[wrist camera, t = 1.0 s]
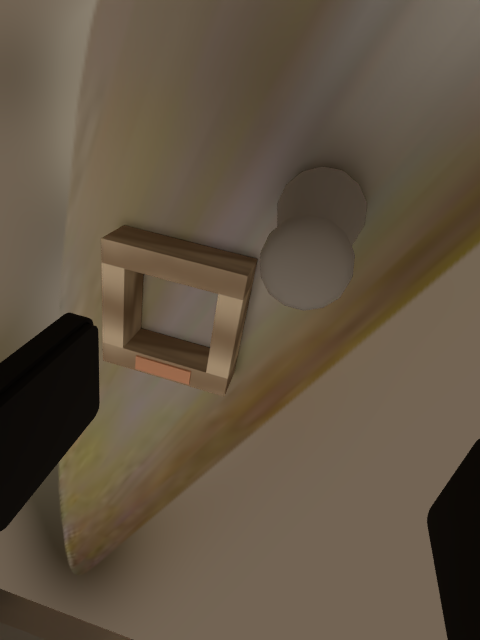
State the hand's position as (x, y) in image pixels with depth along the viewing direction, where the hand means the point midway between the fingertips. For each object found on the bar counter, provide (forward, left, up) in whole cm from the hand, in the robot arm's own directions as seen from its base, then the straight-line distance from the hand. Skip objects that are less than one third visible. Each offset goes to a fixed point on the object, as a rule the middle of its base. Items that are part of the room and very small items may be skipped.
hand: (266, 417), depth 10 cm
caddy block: (+11, -10, -22) cm, 26 cm away
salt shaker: (0, 0, -22) cm, 22 cm away
